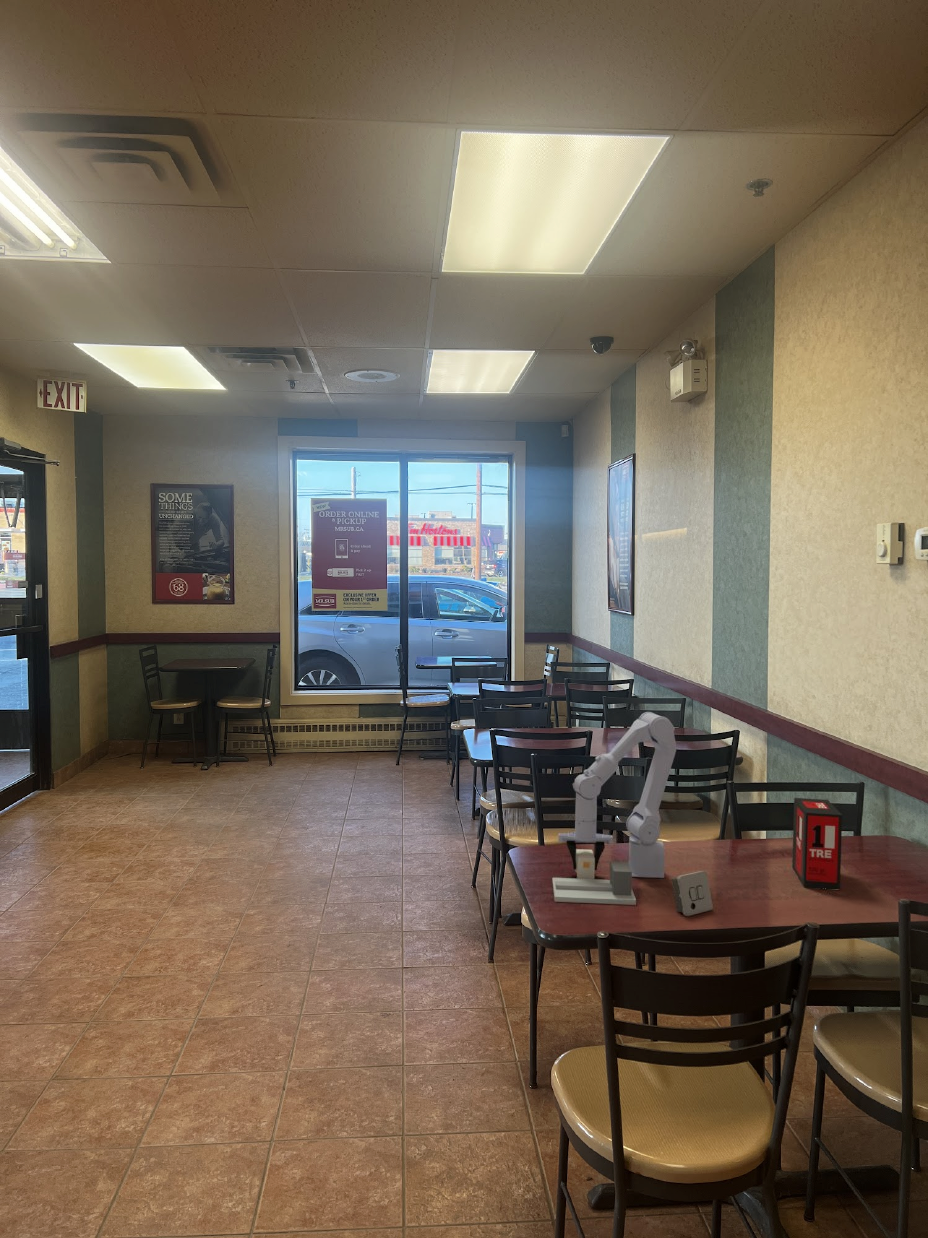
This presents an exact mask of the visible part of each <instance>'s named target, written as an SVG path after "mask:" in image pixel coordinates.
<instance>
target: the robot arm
mask: <svg viewBox="0 0 928 1238" xmlns="http://www.w3.org/2000/svg"><path fill="white" fill-rule="evenodd" d="M675 730H676V727H675V726H674V725H673V723H672V722H671V720H670V719H669V718H668V717H666V716H661V715H658V714H656V713H654V712H652V711H646V712H643V713H642V714H641V715H640V716H639V717H638V718H636V720H634V721H633V723H632V724H631V726H630V727H629V729H628V731H626V732H625V734H624V735H623V736H622V737H621V738H620V740H618V742H617V743H616V745H614V746H613V748H611V750H610V752H608V753H602V754H600V755H597V756H596V757H595V758H594V759H595V761H594V762H593V763H592V764H591V765H590V766H589V767H588V768H587V769H584V770H583V773H582V774H579V775H577V776H576V778H574V782H573V783H572V787H573V790H574V792H575V808H574V809H575V812H574V813H575V817H574V819H575V822H574V826H575V827H574V832H566V833H564V832H563V833H561V832H559V833H558V839H557V840H558V843H563V842H564V843H566V847H567V849H568V852H569V854H570V857H571V860H572V861H571V862H572V868H573V870H576V849H577V843H585V844H586V843H587V844H589V843H591V844H593V854H594V858H595V871H597V870H598V864H599V860H600V858H601V855H602V854H603V853H604V850H605V846H606V845H605V844H608V845H613V844H614V843H613V842H614V841H613V839H614V837H613V835H611V834H602V833H597V815H598V814H597V811H598V810H597V809H598V805H597V804H598V803H597V802H598V801H597V800H598V799H597V798H598V796H599V795H600V793H601V790H602V786H603V785H604V784H605V783H606V782H607V781H608V780H609V779H611V778H610V777H612V776H613V775H614V774H615V772H616V771H617V770H618V769H619V762H620V761H621V760H622V759H623V758H624V757H625V756H626V755H627V754H628V753H630V752H631V751H632V750H633V749H634V748H635V747H636V746H637V745H638V744H639V743H645V742H651V744H652V746H653V747H654V752H653V753H654V754H653V756H652V760H651V764H650V766H649V769H648V772H647V776H646V780H645V784H644V787H643V789H642V790H643V791H642V793H641V797H640V799H639V802H638V804H636V805H635V806H634V808H633V810H632V813H631V814H630V815H629V816H628V818H627V820H626V823H625V826H626V829H627V832H628V833H629V842H628V843H629V844H628V864H629V866H630V868H631V871H632V878H634V877H635V878H654V879H655V878H656V879H657V878H660V879H664V878H665V845H664V842H663V841H659V840H658V839H659V838H660V836H661V829H660V825H661V821H662V820H661V815H660V812H659V810H660V806H661V803H662V799H663V795H664V794H665V789H666V786H667V783H668V778H669V775H670V773H671V769H672V765H673V763H674V759H675V756H676V752H677V743H676V742H677V741H676V737H675Z"/></svg>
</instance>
